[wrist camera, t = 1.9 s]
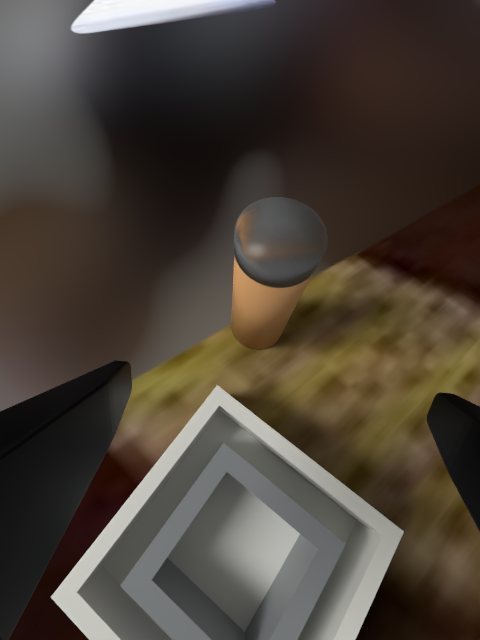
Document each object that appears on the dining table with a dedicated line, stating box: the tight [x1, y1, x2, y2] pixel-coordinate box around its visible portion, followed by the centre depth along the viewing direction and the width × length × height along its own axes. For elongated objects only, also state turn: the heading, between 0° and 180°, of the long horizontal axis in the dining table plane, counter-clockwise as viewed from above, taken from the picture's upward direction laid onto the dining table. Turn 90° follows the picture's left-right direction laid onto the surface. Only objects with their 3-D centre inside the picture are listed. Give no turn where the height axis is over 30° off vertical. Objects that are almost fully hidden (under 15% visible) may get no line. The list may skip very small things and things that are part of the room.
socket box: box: [51, 385, 404, 640], centre depth 16 cm, size 12×12×4 cm
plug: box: [231, 197, 328, 349], centre depth 19 cm, size 4×4×11 cm
